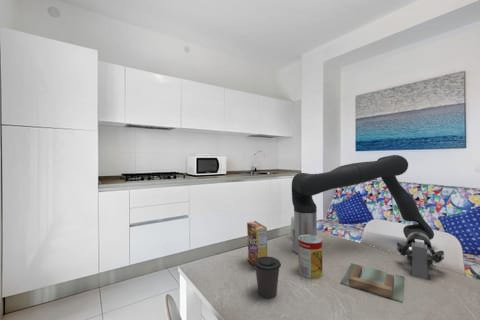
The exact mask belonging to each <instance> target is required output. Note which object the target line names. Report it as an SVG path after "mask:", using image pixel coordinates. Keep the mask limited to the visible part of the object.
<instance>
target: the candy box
mask: <svg viewBox="0 0 480 320" xmlns="http://www.w3.org/2000/svg"><path fill="white" fill-rule="evenodd" d="M246 227H247V228H246V229H247V258H248V259H247V261H248V260H249V261H250V262H251V263H252V264H253V265H254V261H255V260H256V259H257V258H259V257H269V256H268V227H267V226H265V225H263V224H262V223H259V222H258V221H256V220H255V221H253V220H252V221H249V222H248V221H247V222H246ZM249 261H248V262H249ZM250 262H249V263H250ZM251 263H250V264H251ZM252 264H251V265H252ZM253 265H252V266H253Z"/></svg>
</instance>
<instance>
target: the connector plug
mask: <svg viewBox="0 0 480 320" xmlns="http://www.w3.org/2000/svg"><path fill="white" fill-rule="evenodd" d="M427 258H428V255H427V245H424V240H418V239H415V243H413V242H412V261H411V275H412V277H416V278H419V279H424V280H428V279H429V278H428V267H429V265H427Z"/></svg>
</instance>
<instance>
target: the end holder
mask: <svg viewBox="0 0 480 320" xmlns="http://www.w3.org/2000/svg"><path fill="white" fill-rule="evenodd" d="M339 283H340V284H341V285H344V286H347V287H350V288H354V289H357V290H360V291H364V292H367V293H369V294H373V295H377V296H379V297H382V298H386V299H389V300H393V301H395V302H397V303H398V302H399V303H403V299H404V287H405V276H404V275H399V274H397V273H392V272H388V271H384V270H380V269H376V268H372V267H368V266H364V265H360V264H357V263H356V264H355V263H350V265H349V266H348V267H347V270H346V271H345V273H344V275H343V276H342V279H341V280H340V282H339Z"/></svg>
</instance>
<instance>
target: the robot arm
mask: <svg viewBox="0 0 480 320" xmlns="http://www.w3.org/2000/svg"><path fill="white" fill-rule="evenodd" d="M408 168H409V162H408V160H407V159H406V158H405V157H404V156H402V155H398V154H391V155H387V156H382V157H379V158H378V159H377V160H373V161H372V160H371V161H362V162H354V163H348V164H344V165H343V164H342V165H340V166H338V167H336V168H334V169H332V170H330V171H327V172H326V171H325V172H320V173H308V172H307V173H306V172H299V173H296V174H295V175H294V176H293V178H292V180H291V202H292V205H293V216H294V228H293V229H292V238H291V240H292V242H291V243H292V245H291V246H292V252H295V253H296V254H298V255H299V249H298V237H299V236H301V235H315V236H318V231H317V229H318V226H317V225H318V221H317V220H318V219H317V218H318V217H317V216H318V215H317V213H318V210H317V205H316V203H315V201H314V199H313V196H316V195H319V194H321V193H324V192H326V191H327V192H328V191H331V190H336V189H340V188H346V187H351V186H356V185H359V184H364V183H367V182H370V181H373V180H376V179H381V180H382V182H383V183H384V184H385V187H386V188H387V189H388V191H389V193H390V195H391V196H392V198H393V200H394V203H395V204H396V206H397V209H398V211H399V214H400V216H401V218H402V219H403V220H404V221H405V222H412V223H413V222H415V224H407V225H405V226H403V228H402V229H403V234H404V237H405V238H406V244H401V243H400V242H396V250H397V252H398V253H399V254H400V255H401V256H402V257H403V256H404V257H405V256H406V258H407V260H409V262H412V242H413V243H415V239H418V240H424V245H427V255H428V258H427V265H428V266H431V265H433V264H434V263H437V264H438V263H439V264H440V263H441V262H442V261H443V260H445V251H443V250H436V251H435V249H434V248H433V247H432V242H431V240H433V239H434V236H435V233H434V230H433V228H432V227H431V226H430V225H429V224H428V222H427V221H426V220H425V219H424V217H423V216H422V214H421V212H420V209H419V207H418V205H417V202H416V201H415V200H414V198H413V196H412V195H411V194H410V193H409V192H408V191H407V190H406V189H405V188H404V187H403V186H402V185H401V183H400V182H399V180H398V178H397V176H402V175H403V174H405V173H406V172H407V171H408Z"/></svg>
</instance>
